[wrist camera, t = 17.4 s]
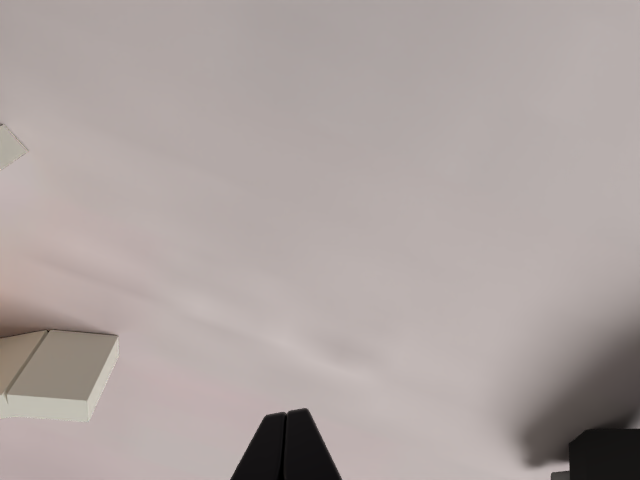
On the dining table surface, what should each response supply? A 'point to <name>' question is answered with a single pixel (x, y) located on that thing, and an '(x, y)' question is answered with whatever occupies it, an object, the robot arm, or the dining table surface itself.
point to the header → (51, 358)
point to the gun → (603, 456)
